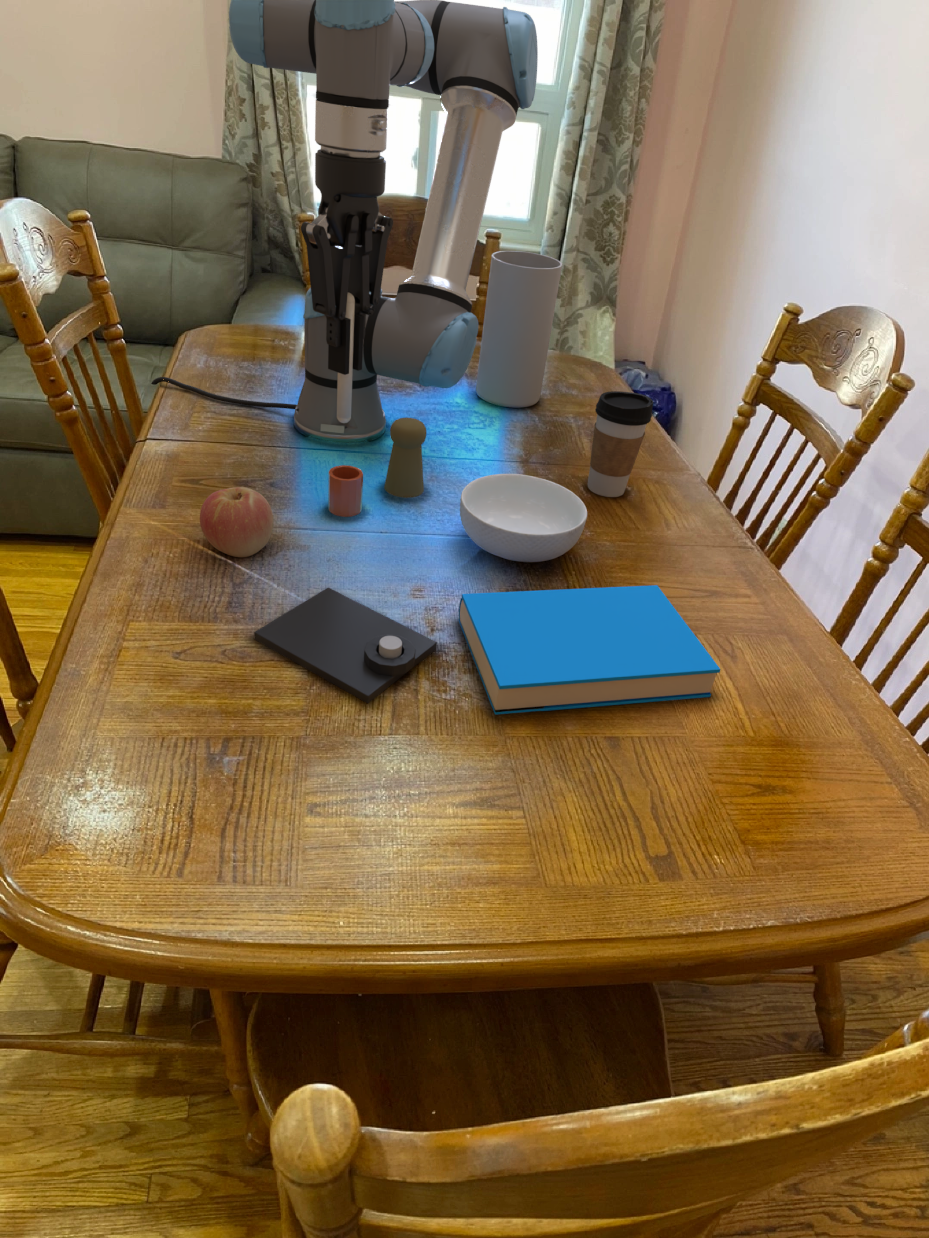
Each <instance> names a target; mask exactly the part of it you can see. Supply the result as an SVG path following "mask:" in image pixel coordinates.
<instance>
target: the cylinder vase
mask: <svg viewBox="0 0 929 1238" xmlns="http://www.w3.org/2000/svg"><path fill="white" fill-rule="evenodd" d="M490 259H491V260H490V268H489V274H488V275H489V276H488V284H487V292H486V299H485V300H486V301H485V308H484V309H485V310H484V318H483V324H482V333H481V342H480V350H479V357H478V358H479V359H478V368H477V377H476V385H475V392H476V395H478V397H479V398H480V399H482V400H483V401H485V402H487V403H489V404H491V405H495V406H499V407H505V408H514V409H516V408H517V409H519V408H520V409H521V408H528V407H531V406H534V405H536V404H537V403H538V402H539V401H540V399H541V394H542V388H543V383H544V376H545V371H546V364H547V359H548V353H549V347H550V340H551V335H552V330H553V329H552V328H553V323H554V316H555V312H556V311H555V310H556V304H557V299H558V292H559V288H560V281H561V275H562V269H563V262H561V260H559V259H556V258H554V257H551V256H549V255H544V254H541V253H535V252H529V251H521V250H520V251H519V250H500V251H496V252H493V253H491V257H490Z"/></svg>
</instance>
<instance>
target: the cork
mask: <svg viewBox="0 0 929 1238" xmlns="http://www.w3.org/2000/svg"><path fill="white" fill-rule="evenodd" d="M389 430H390V431H389V436H390V440H391V441H392V448H391V451H390V456H389V461H388V466H387V471H386V476H385V481H384V491H385V492H386V493H388V494H389V495H391V496H394V497H397V498H405V499H408V498H409V499H411V498H416V497H419V496H421V495H422V494H423V493H424V492H425V486H424V467H423V450H422V449H423V446H422V445H423V444H424V443H425V441H426V439H427V427H426V425H425V424H424V422H423V421H421V420H419V419H417V418H414V417H399V418H396V419H395V420H394V421H393V422H392V423H391V425H390V428H389Z"/></svg>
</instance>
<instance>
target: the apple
mask: <svg viewBox="0 0 929 1238" xmlns="http://www.w3.org/2000/svg"><path fill="white" fill-rule="evenodd" d="M274 522H275V519H274V513H273V509H272V507H271V505H270V503H269V502H268V500H267V499H266V497H264V495H262V494H261V493H259V492H258V491H256V490H253V489H251V488H249V487H243V486H239V487H238V486H237V487H236V486H235V487H228V488H224V489H220V490H216V491H214V492H211V494H209V495H208V496H207V497H206V499H205V500H204V501H203V503H202V505H201V507H200V511H199V525H200V528H201V532H202V534H203V536H204V537H205V539H206V540H207V541H208V543H209V544H210V546H212V547H213V548H215V549H216V550H218V551H219V552H221V553H224V554H226V555H228V556H231V557H234V558H248V557H251V556H253V555H255V554H257V553H259V551H262V549H263V548H264V547H265V546H266V545H267V544H268V543H269V541H270V539H271V537H272V534H273V532H274V531H273V530H274Z"/></svg>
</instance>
